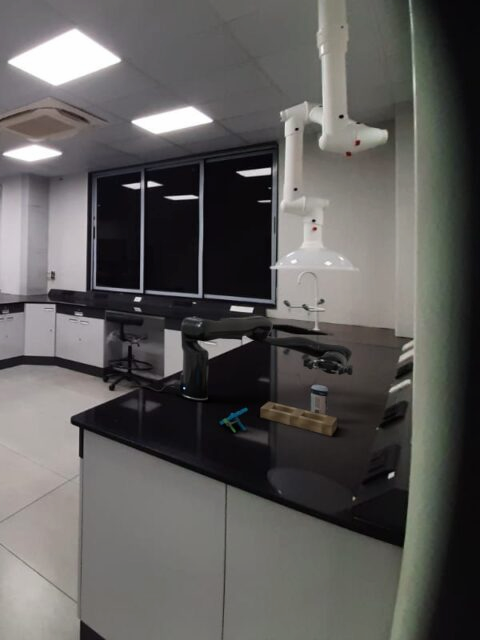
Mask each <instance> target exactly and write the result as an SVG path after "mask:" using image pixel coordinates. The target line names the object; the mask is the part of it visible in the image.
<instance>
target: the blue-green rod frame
mask: <svg viewBox="0 0 480 640" xmlns="http://www.w3.org/2000/svg"><path fill="white" fill-rule="evenodd" d="M247 411H249V409H248V408H247V407H245V408H242V409H240V410H238V411H235V412H234V413H233V412H231V413H230V415H229V416H228V417H226V418H223V419H222V420H220V421H219V424H220V425H221V426H222V425H224V424H225V425H226V427H229V428H230V429H231V431H232V432H233V433H237V431H236V429H235V428H234V427H233V424H237V425H238V426H239V427H240V429H241V430H242V431H244V432H245V431H246V430H247V428H246V427H245V426H244V424H243V423H242V422H241V420H240V418H239V417H240V416H241V415H242V414H244V413H246V412H247ZM232 420H233V421H232Z"/></svg>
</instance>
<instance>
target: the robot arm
mask: <svg viewBox="0 0 480 640" xmlns="http://www.w3.org/2000/svg"><path fill="white" fill-rule="evenodd" d="M273 326H274V323H273V322H272V321H271V319H269V318H267V317H265V316H262V315H249V316H248V315H247V316H242V317H241V316H240V317H221V318H219V319H218V320H213V319H212V320H211V319H207V318H202V317H195V316H186V317H185V318H183V320H182V322H181V327H180V337H181V338H180V339H181V340H180V341H181V349H182V372H181V373H180V380H178V381H175V382H173V383H168V384H165V385H164V386H163V387H162V388H161V389H156V388H154V387H152V386H148V385H142V384H141V385H136V384H135V385H130V388H134V389H135V388H136V389H137V388H139V389H141V388H143V387H145V388H143V389H147V390H151V391H153V392H155V393H162V392H164V391H165V390H166V389H167V388H168V387H173V389H175V390H179V397H183V398H184V399H186V400H190V401H194V402H207V401H208V400H209V398H208V397H209V395H208V394H209V393H208V392H209V351H208V349H206V348H205V347H203V346H202V345H201V344H200V343H199V342H211V341H216V340H219V339H222V340H237V339H241V338H244V337H246V338H247V339H250V340H251V341H254V342H257V343H261V344H265V345H268V346H273V347H278V348H282V349H287V350H290V351H295V352H298V353H301V354H303V355H306V356H310V357H312V358H316V359H314V360H312V359H311V358H310V357H309V358H305V359H303V367H304V368H307V369H309V370H313V369H314V370H321V371H322V372H324V373H326V374H329V375H336V374H337V375H339V376H341V375H346V374H347V375H349V376H352V375H353V373H354V366H353V365H351V364H349V362H350V360H351V358H352V357H353V351H352V350H351V349H350V348H349V347H347V346H345V345H341V344H337V343H336V344H335V343H326V342H320V341H317V340H314V339H311V338H308V337H305V336H287V337H286V336H285V337H273V336H269V335H270V333H271V332H272V331H273V330H272V329H273ZM348 364H349V365H348Z"/></svg>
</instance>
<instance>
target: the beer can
mask: <svg viewBox="0 0 480 640" xmlns="http://www.w3.org/2000/svg"><path fill="white" fill-rule="evenodd" d="M310 412H315V413H319V414H323V415H327V416H329V415H328V414H329V389H328V387H327V386H325V385H322V384H312V386H311V387H310Z"/></svg>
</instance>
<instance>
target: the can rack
mask: <svg viewBox="0 0 480 640" xmlns="http://www.w3.org/2000/svg"><path fill="white" fill-rule="evenodd" d="M259 411H260V412H259V413H260V416H259V417H260V418H261V419H266V420H269V421H272V422H276V423H280V424H284V425H288V426H291V427H295V428H299V429H303V430H307V431H311V432H315V433H318V434H321V435H325V436H329V437H332V436H333V435H334V433H335V432H336V430H337V428H338V417H336V416H331V415H328V416H327V415H323V414H319V413H315V412H311V410H305V409H302V408H297V407H294V406H289V405H285V404H280V403H276V402H272V401H267V402H266V403H265V404H263V405H262V406H261V407H260V410H259Z"/></svg>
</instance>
